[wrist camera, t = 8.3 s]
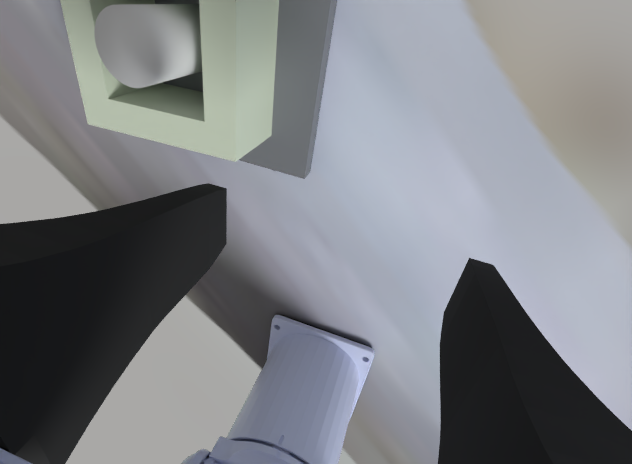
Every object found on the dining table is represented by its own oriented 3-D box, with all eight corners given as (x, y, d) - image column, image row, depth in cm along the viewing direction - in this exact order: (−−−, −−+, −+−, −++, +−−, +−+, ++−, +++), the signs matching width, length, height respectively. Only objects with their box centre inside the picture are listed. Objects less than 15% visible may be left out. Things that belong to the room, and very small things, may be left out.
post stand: (309, 172, 21) (262, 227, 16) (131, 121, 23) (38, 156, 18) (352, -103, 15) (296, -160, 9) (98, -140, 17) (-66, -204, 12)
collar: (271, 135, 20) (235, 161, 17) (143, 105, 21) (87, 124, 18) (281, -50, 16) (236, -64, 12) (119, -72, 17) (40, -89, 14)
